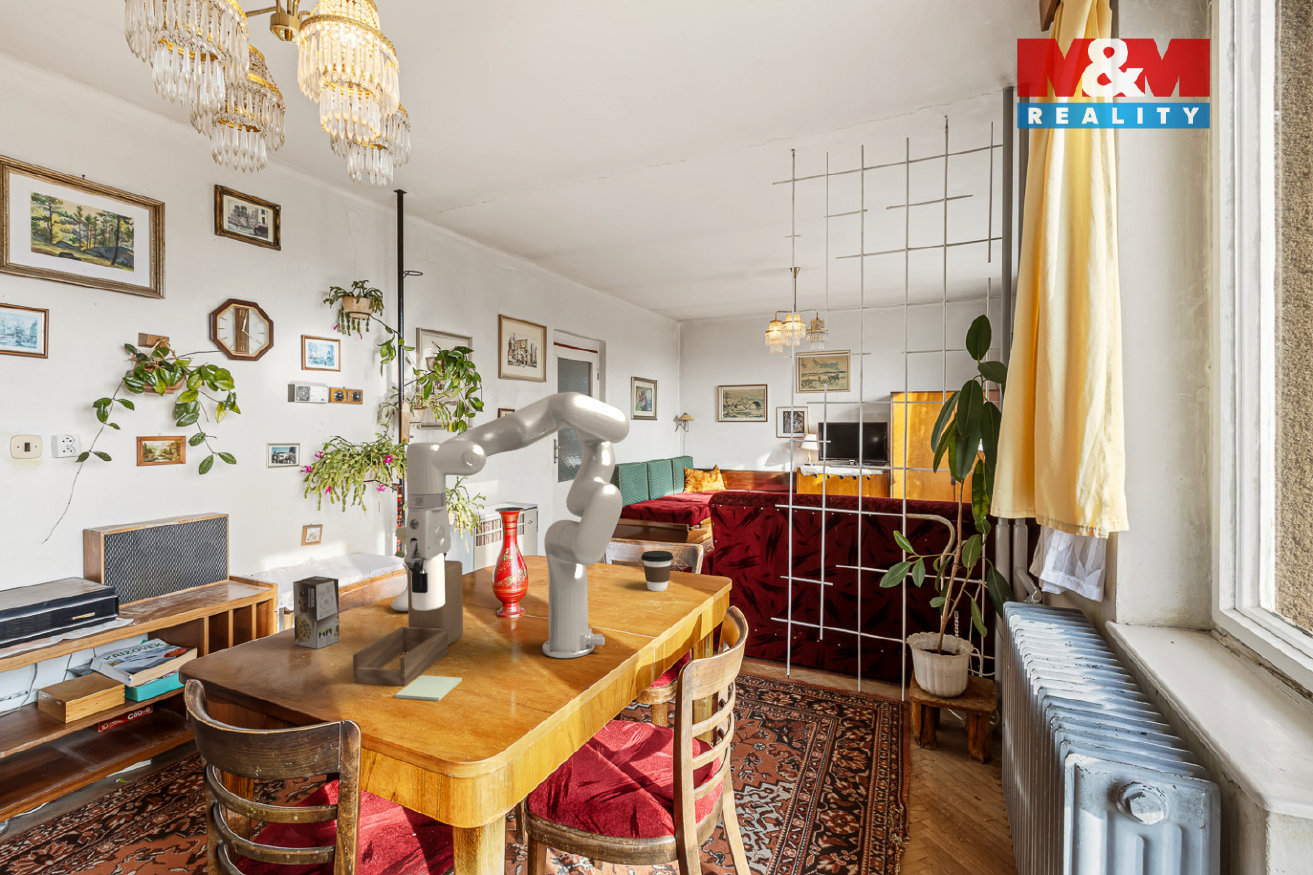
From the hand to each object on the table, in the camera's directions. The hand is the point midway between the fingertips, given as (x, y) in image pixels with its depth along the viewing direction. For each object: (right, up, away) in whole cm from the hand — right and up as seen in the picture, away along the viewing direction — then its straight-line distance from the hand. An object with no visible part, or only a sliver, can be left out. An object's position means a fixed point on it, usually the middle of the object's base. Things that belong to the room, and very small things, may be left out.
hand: (428, 587), depth 123 cm
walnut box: (-10, -21, +12) cm, 26 cm away
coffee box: (-39, -21, +27) cm, 52 cm away
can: (0, -4, 0) cm, 4 cm away
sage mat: (0, -21, 0) cm, 21 cm away
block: (-9, -21, +27) cm, 36 cm away
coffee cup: (+48, -20, +75) cm, 91 cm away
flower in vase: (-27, -21, +56) cm, 66 cm away
